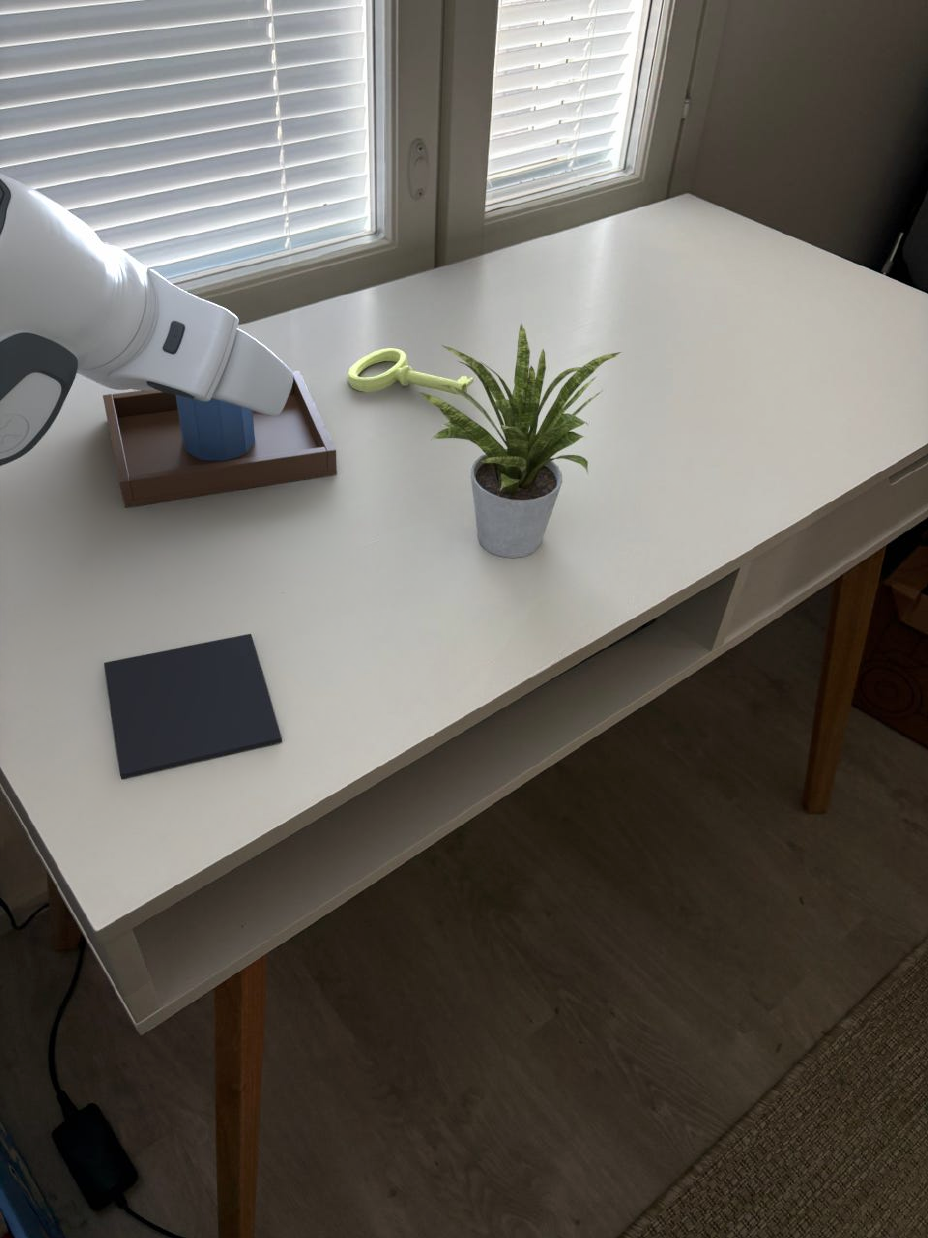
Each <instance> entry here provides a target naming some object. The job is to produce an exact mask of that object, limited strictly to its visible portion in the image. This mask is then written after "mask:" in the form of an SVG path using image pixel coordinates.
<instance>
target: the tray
mask: <svg viewBox="0 0 928 1238" xmlns="http://www.w3.org/2000/svg"><path fill="white" fill-rule="evenodd" d="M291 371H292V370H291ZM292 373H293V383H292V387H291V390H290V393H289V396H288V399H287V401H286V404H285V406H284V408H283V410H282V412H281V413H280V414H279V415H277V416H267V415H264V414H261V413H258V412H255V411H252V413H253V423H254V433H255V443H254V445H253V446H252V447H251V448H250V450H249V451H248V452H247V453H246V454H245V455H242V456H239V457H236V458H233V459H230V460H227V461H226V460H225V461H204V460H201V459H199V458H196V457H194V456H192V455H190V454H188V453H187V452H186V450H185V447H184V443H183V439H182V433H181V427H180V420H179V414H178V408H177V401H176V395H175V394H170V393H164V392H161V391H144V390H133V391H127V392H119V393H109V394H103V395H102V399H103V403H104V408H105V415H106V420H107V425H108V431H109V436H110V441H111V447H112V451H113V456H114V457H113V458H114V462H115V467H116V472H117V477H118V483H119V488H120V492H121V497H122V501H123V506H124V508H131V507H138V506H143V505H149V504H156V503H161V502H162V503H163V502H169V501H175V500H182V499H188V498H195V497H201V496H208V495H215V494H221V493H227V492H234V491H240V490H246V489H251V488H259V487H264V486H265V487H266V486H272V485H278V484H283V483H284V484H285V483H291V482H297V481H302V480H310V479H317V478H323V477H328V476H336V475H337V474H338V467H337V466H338V465H337V464H338V463H337V449H336V447H335V445H334V443H333V441H332V438H331V436H330V434H329V431H328V429H327V427H326V425H325V424H324V421H323V419H322V417H321V414H320V413H319V410H318V408H317V405H316V404H315V401H314V400H313V397H312V395H311V393H310V391H309V390H310V389H309V388H308V387H307V384H306V382H305V379H304V377H303V375H302V374H301V371H300V370H293V371H292Z"/></svg>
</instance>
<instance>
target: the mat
mask: <svg viewBox="0 0 928 1238" xmlns="http://www.w3.org/2000/svg"><path fill="white" fill-rule="evenodd" d="M103 667H104V672H105V673H104V674H105V680H106V681H105V682H106V689H107V695H108V701H109V708H110V709H109V710H110V716H111V723H112V730H113V736H114V744H115V750H116V758H117V765H118V770H119V771H118V772H119V773H118V774H119V776H120V779H121V780H124V779H125V780H126V779H129V778H134V777H137V776H142V775H146V774H151V773H155V772H159V771H164V770H168V769H173V768H178V767H181V766H185V765H190V764H194V763H199V762H203V761H208V760H211V759H215V758H220V757H224V756H225V757H226V756H229V755H233V754H238V753H242V752H247V751H252V750H256V749H259V748H263V747H268V746H269V747H270V746H272V745H277V744H282V743H283V739H282V738H283V737H282V735H281V731H280V728H279V724H278V720H277V717H276V713H275V710H274V707H273V703H272V701H271V697H270V693H269V690H268V686H267V683H266V680H265V676H264V672H263V668H262V666H261V663H260V659H259V655H258V652H257V649H256V645H255V641H254V639H253V635H252V633H245V634H242V635H236V636H231V637H226V638H222V639H216V640H211V641H207V642H202V643H197V644H191V645H186V646H181V647H175V648H170V649H165V650H161V651H155V652H151V653H146V654H140V655H135V656H130V657H126V658H120V659H115V660H111V661H110V660H109V661H105V662H103Z"/></svg>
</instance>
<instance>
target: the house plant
mask: <svg viewBox="0 0 928 1238" xmlns="http://www.w3.org/2000/svg"><path fill="white" fill-rule="evenodd" d="M441 347H443V348H444V349H446V350H447V351H449V352H451V353H452V354H454V356H457V357H458V358H460V359H461V360H463V361H459V360H457V362H458V363H461V364H462V365H464V366H465V367H467V368H469V369H470V370H471V371H472V372H473V373H474V374H475V375H476V376H477V378H478V379H479V381H480V382H481V383H482V386H483V387H484V390H485V392H486V394H487V397H488V399H489V402H490V404H491V406H492V408H493V410H494V413H495V415H496V418H497V420H498V422H499V425H500V430H501V431H502V433H503V435H502V434H501V432H500V430H499V429H498V428H497V426H496V424H495V422H494V421H493V419H492V418H491V416H490V414H489V413H488V412H487V411H486V410H485V408H484V407H483V406H482V405H481V404H480V402H478V401H477V400H476V399H474V398H473V397H472V396H471V395H470V394H469V393H467V391H466V392H464V391H462V390H460V389H458V388H456V387H453V386H450V385H441V386H443V387H446V388H448V389H451V390H453V391H455V392H457V393H459V394H460V395H459V396H461V397H463V398H465V399H467V401H468V402H470V403H471V404H472V405H474V406H475V408H476V409H477V410H479V411H480V413H481V414H483V416H484V417H485V418H486V419H487V421H488V422H489V423H490V424H491V426H492V427H493V428H494V431H496V433H497V435H498V436H499V437H500V439H501V440H502V442H503V443H504V445H505V446H506V448H505V447H504V446H503V445H502V444H501V443H500V442H499V441H498V440H497V439H496V438H495V437H494V436H493V435H492V434H491V433H490V432H489V431H488V430H487V428H486V429H485V427H484V426H482V425H480V424H479V423H477V422H476V421H474V419H472V418H471V417H470V416H467V415H466V414H464V413H463V412H462V411H460V410H458V409H457V408H456V407H454V406H453V405H451V404H449V403H448V402H446V401H445V400H443V399H441V398H440V397H437V396H434V395H431V394H429V393H425V392H421V391H420V392H418V394H421V395H422V396H423V398H425V400H426V401H427V402H429V403H431V404H432V405H433V406H435V407H436V408H437V409H438V410H439V411H440V412H441V413H442V415H443V416H444V417H445V418H446V419H447V421H448V422H445V423H443V424H442V425H441V427H443V426H444V427H446V428H444V429H441V430H439V431H438V432H437V433H436V434H434V436H433V437H432V438H431V440H434V439H435V440H436V439H437V440H439V439H441V440H443V439H459V440H466V441H469V442H471V443H473V444H474V445H476V446H477V447H478V448H480V449H481V450H482V452H483V453H484V454H482V455H481V456H479V457H478V458H477V459H476V460H475V461H473V464H472V466H471V467H470V481H471V490H472V498H473V506H474V507H473V508H474V516H475V523H476V524H475V525H476V531H477V539H478V542H479V545H481V547H483V549H484V550H486V551H487V552H488V553H490V554H493V555H495V556H497V557H500V558H501V557H502V558H507V559H518V558H524V557H527V556H530V555H532V554H533V553H534V552H536V550H537V549H538V548H539V547H540V546H541V544H542V542H543V539H544V536H545V533H546V530H547V527H548V525H549V521H550V519H551V516H552V513H553V510H554V507H555V504H556V501H557V499H558V495H559V492H560V490H561V487H562V484H563V473H562V471H561V469H560V467H559V466H558V465H557V464H556V463H555V462H554V460H559V459H560V460H561V459H562V460H563V459H564V460H568V461H571V462H574V463H576V464H579V465H581V466H582V467H583V468H584V469H585V471H586V474H589V470H588V467H589V466H588V464H589V461H588V460H587V459H586V458H585V457H583V456H581V455H578V454H564V455H563V454H562V455H559V456H556V457H553V456H554V455H556V454H557V453H559V452H561V451H562V450H564V449H566V448H568V447H570V446H573V445H574V444H575V443H577V442H578V441H579V440H581V439H582V438H584V439H586V437H585V436H583V435H582V434H581V433H578V432H575V431H573V430H574V429H577V428H579V427H581V426H583V425H584V424H586V425H587V426H589V424H588V422H586V421H584V420H582V419H581V418H579V417H577V415H578V414H579V413H580V412H581V411H582V410H583V409H584V408H585V407H586V406H587V405H588V404H589V403H590V402H591V401H593V399H595V398H597V396H598V395H599V394H601V393H602V392H603V391H604V389H602V390H601V391H599V392H598V393H596V394H595V395H594V396H592V397H590V398H589V399H587V400H586V401H585V402H584V403H583V404H581V406H579V407H578V408H577V409H576V410H575V411H574V412H573V413H572V414H571V413H565V412H566V411H567V410H568V409H569V408H570V407H571V406H573V404H574V403H575V402H576V401H577V400H578V399H579V398H580V397H581V396H582V394H583V393H584V392H585V390H586V389H587V388H588V387H589V386H590V385H591V384H592V383H593V381H594V380H595V379H596V378H597V377H598V375H597V376H595V377H593V378H592V379H590V380H589V381H588V382H587V383H585V384H584V385H583V386H581V385H582V384H583V382H585V380H587V379H588V378H589V377H590V376H591V375H592V374H593V373H595V371H596V370H597V369H598V368H599V367H600V366H602V365H603V364H604V363H605V362H606V361H609V360H611V359H613V358H615V357H617V356H618V355H619V354H621V353H623V351H621V352H612V353H609V354H604V355H601V356H599V357H595V358H594V359H591V360H590V361H589V362H587V363H586V364H584V365H582V367H578V366H576V367H571V368H567V369H565V370H563V371H562V372H560V373H559V374H558V375H557V376H556V377H555V378H554V379H553V381H551V383H550V384H549V385H548V387H547V389H546V391H545V393H544V395H543V397H542V391H543V385H544V382H545V375H546V371H547V362H546V352H545V349H544V348H543V349H542V350H541V353H540V356H539V359H538V363H537V369H536V370H537V371H536V372H535V369H534V367H533V366H532V365H531V364H530V357H531V356H530V355H531V350H530V345H529V342H528V339H527V332H526V329H525V328H524V326H523V323H521V324H520V326H519V331H518V340H517V350H516V351H517V352H516V362H515V363H516V364H515V369H514V378H513V381H514V382H513V383H514V387H513V391H511V390H510V388H509V387H508V385H507V383H506V382H505V380H504V379H503V378H502V376H500V375H499V374H498V373H497V372H496V371H494V370H493V369H492V368H491V367H489V366H488V365H486V364H485V363H483V362H482V361H480V360H479V361H478V360H477V359H475V358H473V357H472V356H469V355H467V354H465V353H463V352H461V351H459V350H457V349H455V348H453V347H450V346H447V345H443V344H441ZM489 370H490V371H491V372H492V373H491V372H490V371H489ZM493 374H495V375H496V377H497V378H498V380H499V381H500V384H501V385H502V387H503V389H504V391H505V394H506V395H507V398H506V397H505V395H504V393H503V391H502V388H501V387H500V385H499V384H498V381H497V380H496V379H495V377H494V376H493ZM570 374H572V375H571V376H570V377H569V378H568V379H567V381H566V382H565V383H564V385H562V387H561V388H560V390H559V392H558V394H557V396H556V398H555V400H554V402H553V403H552V405H551V407H550V408H549V410H548V412H547V414H546V416H545V417H544V419H543V421H542V423H541V425H540V427H539V430H538V426H539V425H538V424H539V416H540V413H541V411H542V410H543V407H544V406H545V403H546V402H547V400H548V398H549V396H550V395H551V393H552V392H553V390H554V389H555V387H557V386H558V384H560V382H561V381H563V380H564V379H565V378H566V377H567V376H568V375H570ZM438 385H439V384H438ZM580 386H581V387H580ZM579 387H580V389H578V388H579ZM576 390H577V391H576ZM575 392H576V393H575ZM574 393H575V394H574ZM573 394H574V395H573ZM572 395H573V396H572ZM571 396H572V397H571ZM541 397H542V398H541ZM537 430H538V431H537Z"/></svg>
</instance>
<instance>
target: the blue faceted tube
mask: <svg viewBox="0 0 928 1238" xmlns="http://www.w3.org/2000/svg"><path fill="white" fill-rule="evenodd" d="M176 401H177V408H178V414H179V420H180V427H181V433H182V439H183V443H184V447H185V450H186V452H187V453H188V454H190V455H192V456H194V457H196V458H199V459H201V460H204V461H225V460H226V461H227V460H230V459H233V458H236V457H239V456H242V455H245V454H246V453H247V452H248V451H249V450H250V448H251V447H252V446H253V445H254V443H255V433H254V423H253V413H252V410H249V409H246V408H243V407H240V406H237V405H234V404H231V403H228V402H224V401H221V400H217V399H214V398H211V399H210V400H209V401H207V402H204V401H201V400H197V399H190V398H187V397H183V396H179V395H176Z"/></svg>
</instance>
